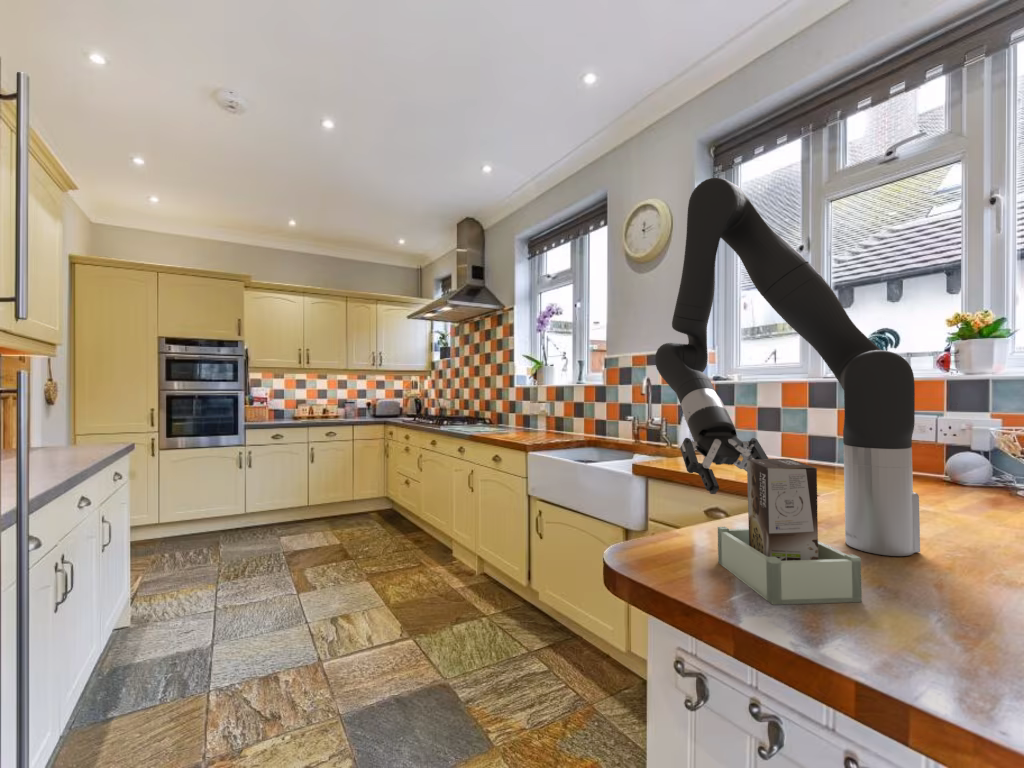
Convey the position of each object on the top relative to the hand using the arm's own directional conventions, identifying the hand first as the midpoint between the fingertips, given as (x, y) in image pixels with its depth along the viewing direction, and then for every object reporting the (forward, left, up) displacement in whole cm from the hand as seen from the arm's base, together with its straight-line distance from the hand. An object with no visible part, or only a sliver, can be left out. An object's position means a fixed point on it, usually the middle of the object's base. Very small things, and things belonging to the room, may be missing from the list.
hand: (739, 491), depth 80 cm
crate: (0, +12, -10) cm, 15 cm away
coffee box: (0, +12, -10) cm, 15 cm away
